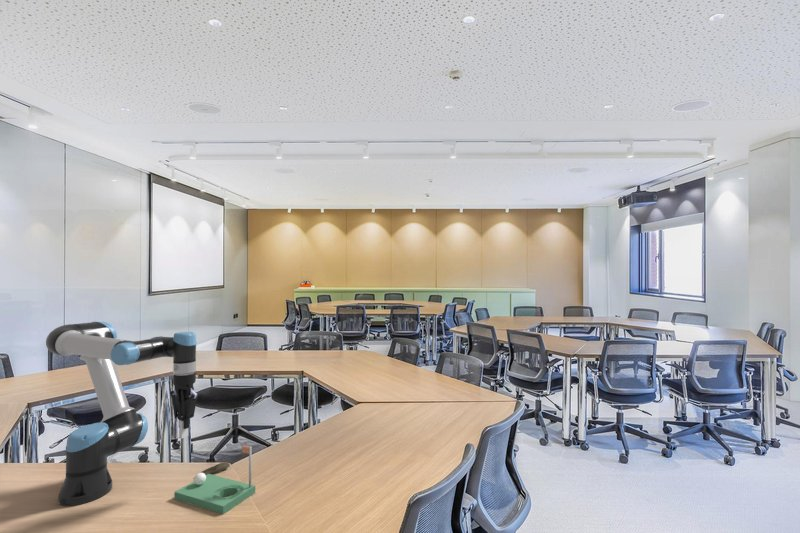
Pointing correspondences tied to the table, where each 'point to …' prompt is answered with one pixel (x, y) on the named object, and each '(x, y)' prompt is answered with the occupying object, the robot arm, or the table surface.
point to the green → (217, 491)
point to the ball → (199, 478)
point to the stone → (216, 468)
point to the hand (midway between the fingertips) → (183, 436)
